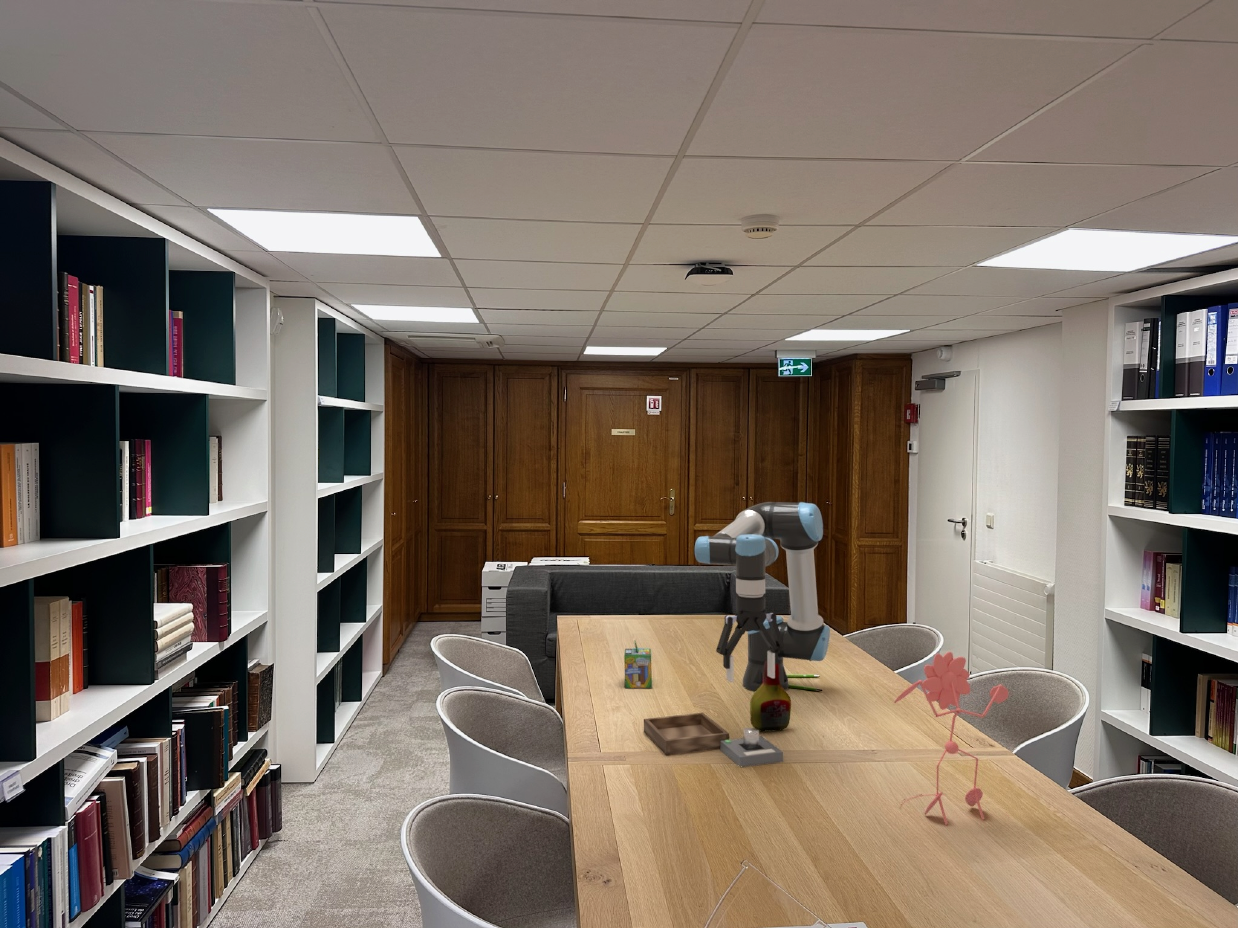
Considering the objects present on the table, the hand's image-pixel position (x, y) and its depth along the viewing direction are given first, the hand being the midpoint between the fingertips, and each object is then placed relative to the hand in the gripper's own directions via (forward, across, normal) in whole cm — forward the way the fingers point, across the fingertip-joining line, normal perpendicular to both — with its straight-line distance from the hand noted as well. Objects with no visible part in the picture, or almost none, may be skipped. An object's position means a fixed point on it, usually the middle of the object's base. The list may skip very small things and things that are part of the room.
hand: (750, 678), depth 210 cm
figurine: (+20, -27, +41) cm, 53 cm away
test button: (+18, 0, 0) cm, 18 cm away
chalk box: (+20, +8, -69) cm, 72 cm away
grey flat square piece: (+20, 0, 0) cm, 20 cm away
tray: (+20, +12, -16) cm, 28 cm away
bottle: (+20, -14, -16) cm, 29 cm away
